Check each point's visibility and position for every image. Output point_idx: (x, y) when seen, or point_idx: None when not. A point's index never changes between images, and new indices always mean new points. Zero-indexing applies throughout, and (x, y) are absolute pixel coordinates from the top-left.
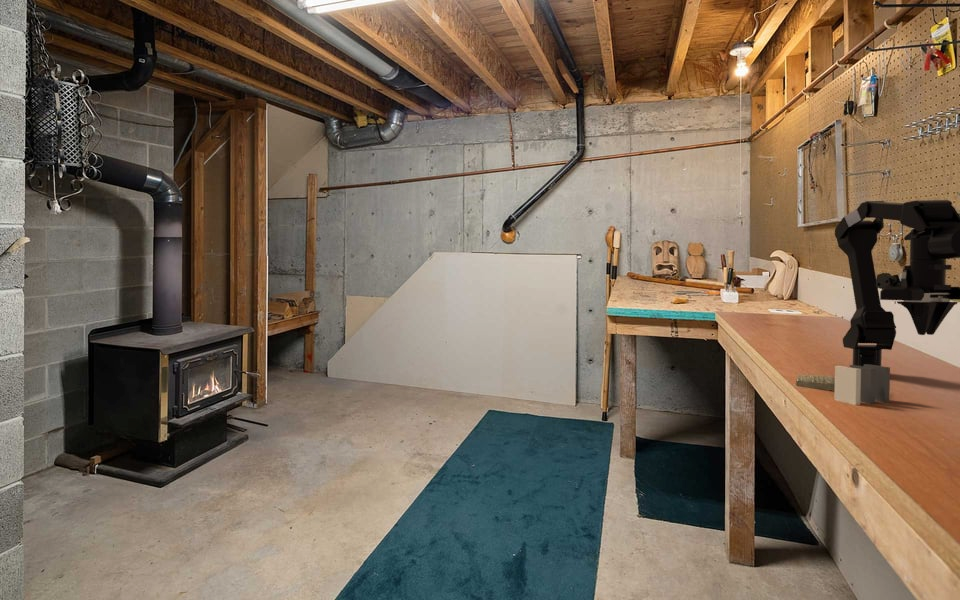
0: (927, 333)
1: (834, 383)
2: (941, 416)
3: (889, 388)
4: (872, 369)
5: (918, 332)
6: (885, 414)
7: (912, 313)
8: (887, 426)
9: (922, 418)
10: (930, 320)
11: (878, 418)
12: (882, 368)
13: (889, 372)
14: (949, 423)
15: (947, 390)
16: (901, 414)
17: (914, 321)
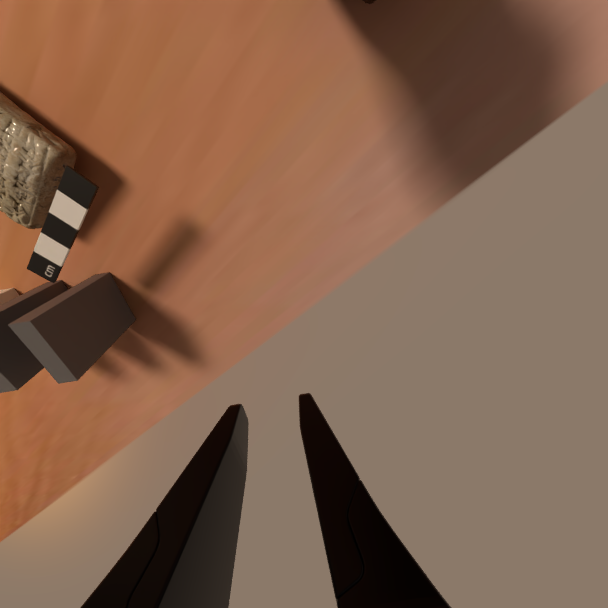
0: (299, 400)
1: (2, 210)
2: (160, 407)
3: (117, 338)
4: (6, 390)
5: (226, 416)
6: (64, 395)
7: (115, 595)
8: (27, 442)
9: (116, 414)
10: (236, 544)
11: (35, 412)
12: (55, 374)
13: (87, 368)
14: (139, 433)
15: (425, 209)
16: (95, 395)
17: (176, 492)
